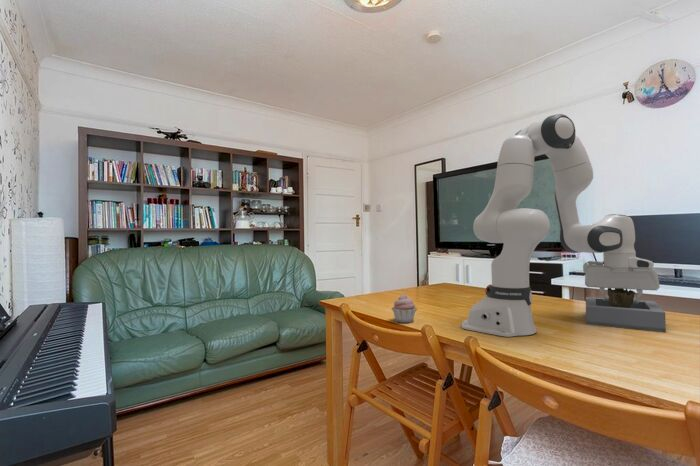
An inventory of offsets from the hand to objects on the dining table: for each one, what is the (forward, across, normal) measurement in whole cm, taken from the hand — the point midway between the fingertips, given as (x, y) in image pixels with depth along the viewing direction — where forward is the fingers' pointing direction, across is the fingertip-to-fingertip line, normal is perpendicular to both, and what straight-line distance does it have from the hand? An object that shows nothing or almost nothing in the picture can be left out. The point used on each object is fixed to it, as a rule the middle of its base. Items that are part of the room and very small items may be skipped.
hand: (620, 301), depth 119 cm
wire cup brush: (+4, 0, +1) cm, 4 cm away
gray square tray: (+7, 0, 0) cm, 7 cm away
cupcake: (+7, -65, -35) cm, 74 cm away
